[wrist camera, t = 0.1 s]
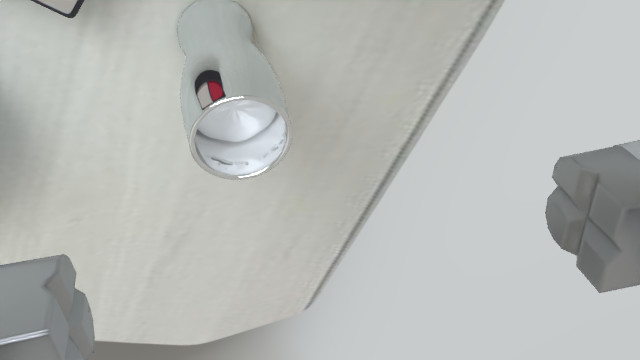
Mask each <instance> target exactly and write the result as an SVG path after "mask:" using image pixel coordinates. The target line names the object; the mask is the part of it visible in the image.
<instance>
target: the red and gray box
mask: <svg viewBox="0 0 640 360" xmlns="http://www.w3.org/2000/svg"><path fill="white" fill-rule="evenodd" d="M31 1H33V2H36V3H38V4H40V5H42V6H44V7H46V8H48V9H50V10H53V11H55V12H57V13H59V14H61V15H63V16H65V17H68V18H73V17H75V16H76V14H77V13H78V11H79V9H80V7H81V5H82V4H83V2H84V0H31Z"/></svg>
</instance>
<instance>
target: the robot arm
mask: <svg viewBox="0 0 640 360" xmlns="http://www.w3.org/2000/svg"><path fill="white" fill-rule="evenodd" d="M552 178H553V179H554V181H555V182H556V184H557V185H558V187H557V188H556V189H555V190H554V191H553V193H552V194H551V195H550V196H549V197H548V200H547V206H546V212H545V213H546V219H547V225H548V229H549V231H550V233H551V235H552V237H553V239H554V240H555V241H556V243H557V244H558V245H559V246H560V247H561V249H563V250H566V251H568V252H570V253H572V254H575V255H577V264H576V265H577V267H578V269H579V270H580V271H581V272H582V273H583V274H584V275H585V277H586V278H587V279H588V280H589V281H590V283H591V284H592V285H593V286H594V287H595V288H596V289H597V291H598V292H599V293H602V292H607V291H612V290H617V289H621V288H626V287H631V286H636V285H640V140H637V141H633V142H629V143H624V144H619V145H615V146H613V147H609V148H605V149H599V150H594V151H589V152H584V153H580V154H574V155H570V156H565V157H560V158H559V160H558V161H557V163H556V164H555V167H554V171H553V176H552ZM75 279H76V271H75V269H74V267H73V265H72V263H71V261H70V258H69V257H68V256H66V255H64V254H62V255H56V256H51V257H45V258H39V259H34V260H28V261H22V262H16V263H11V264H5V265H0V360H88V359H89V358H90V356H91V355H92V354H93V353H94V338H95V337H94V326H93V318H92V314H91V310H90V306H89V303H88V301H87V298H86V296H85V294H84V293H83V292H81V291H79V290H77V289H75Z"/></svg>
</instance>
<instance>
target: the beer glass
mask: <svg viewBox="0 0 640 360" xmlns="http://www.w3.org/2000/svg"><path fill="white" fill-rule="evenodd" d="M177 37H178V41H179V44H180V47H181V49H182V51H183V53H184V54H185V56H186V59H185V64H184V68H183V73H182V79H181V89H180V102H181V112H182V118H183V123H184V127H185V131H186V134H187V138H188V141H189V147H190V151H191V154H192V156H193V158H194V160H195V161H196V162H197V164H198V165H199V166H200V167H201V168H202V169H204V170H205V171H207V172H208V173H210V174H212V175H214V176H217V177H220V178H224V179H231V180H241V179H248V178H253V177H256V176H259V175H261V174H263V173H266V172H267V171H269V170H271V169H272V168H274V167H275V166H276V165H277V164H278V163H279V162H280V161H281V160H282V159H283V158H284V156H285V155H286V153H287V152H288V150H289V148H290V145H291V141H292V126H291V122H290V120H289V115H288V110H287V106H286V102H285V98H284V95H283V91H282V88H281V86H280V83H279V81H278V79H277V76H276V74H275V72H274V71H273V69H272V67H271V66H270V64H269V63H268V61H267V60H266V58H265V57H264V56H263V55H262V53H261V52H260V51H259V50H258V48H257V47H256V46H255V45H254V43H253V28H252V23H251V20H250V18H249V16H248V14H247V13H246V11H245V10H244V9H243V8H242V7H241V6H240V5H239V4H237V3H236V2H234V1H232V0H198V1H196V2H194V3H193V4H191V5H190V6H189V7H188V8H187V9H186V10H185V11H184V12H183V14H182V15H181V17H180V20H179V23H178V27H177Z"/></svg>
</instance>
